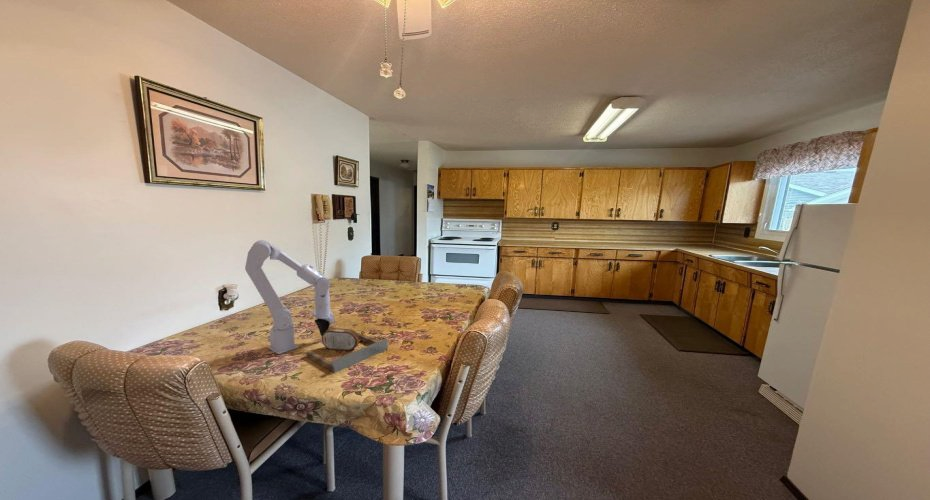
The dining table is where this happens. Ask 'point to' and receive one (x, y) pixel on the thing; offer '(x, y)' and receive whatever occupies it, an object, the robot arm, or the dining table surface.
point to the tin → (340, 339)
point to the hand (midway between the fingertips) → (324, 335)
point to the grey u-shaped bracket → (351, 354)
